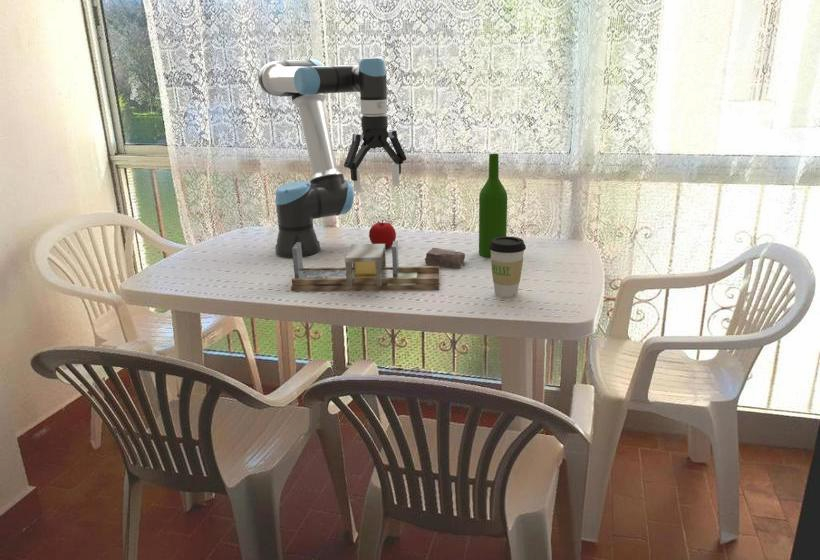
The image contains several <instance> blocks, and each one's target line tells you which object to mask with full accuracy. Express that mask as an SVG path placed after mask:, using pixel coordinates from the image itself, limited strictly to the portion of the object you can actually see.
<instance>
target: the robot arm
mask: <svg viewBox="0 0 820 560" xmlns="http://www.w3.org/2000/svg"><path fill="white" fill-rule="evenodd" d="M387 75H388V73H387V67H386V60H385V59H384V58H383V57H361V58H360V59H359V60H358V64H354V63H353V64H346V65H345V64H343V65H341V64H340V65H324V64H323V63H322V62H321V61H319V60H318V59H310V58H309V59H308V58H307V59H290V60H288V59H287V60H273V61H270V62H268V63H265V65H263V66H262V67H261V69H260V70H259V72H258V84H259V86H260V88H261V89H262V90H263V91H264V92H265V93H266V94H267V95H271V96H275V97H291V100H292V104H294V106H296V107H297V108H298V111H299V117H300V120H301V126H302V130H303V135H304V139H305V144H306V147H307V152H308V158H309V161H310V162H309V163H310V166H311V170H312V176H311V178H310V179H309V181H310V182H309V181H308V180H299V181H298V180H296V181H291V182H287V183H284V184H281V185H279V186H278V187H277V188H276V190H275V205H276V213H277V214H276V215H277V225H278V234H277V239H276V244H275V255H277V256H279V257H282V258H293V254H292V248H293V246H294V245H295V244H296V243H297V242H301V248H302V258H303V257H308V256H312V255H315V254H318V253H319V252H320V251H321V243H320V241H319V240H318V237H317V233H316V231H315V227H314V220H315V219H322V218H327V217H333V216H334V217H335V216H336V217H337V216H340V215H344V214H348V213H349V212H350V211H351V209H352V207H353V205H354V197H355V195H354V192H357V193H361V192H362V189H361V187H362V186H361V170H360V169H358V168H359V166H360V165H361V163H362V161H363V160H364V159H365V157H366V156H367V153H368V152H369V151H370V150H371V149H373V150H374V149H377V148H378V149H383V150H384V151H385V152H386V154H387V155H388V156H389V158H390V159H391V160H392V161H393V162H392V163H391V180H392V182H391V185H393V186H396V187H398V186H399V187H400V174H402V173H401V172H402V168H401V167H402V164H404V162H405V161H406V160H407V156H406V154H405V151H404V148H403V147H402V144H401V143H400V141H399V138H398V132H397V130H394V129H389V130H388V128H389V127H388V126H389V125H388V123H389V121H388V116H387V115H386V114H387V113H388V101H387V100H388V98H387V97H388V95H387V94H388V93H387V91H388V89H387V88H388V87H387V80H388V79H387ZM339 93H341V94H342V93H360V94H359V96H360V114H362V116H361V118H360V119H361V130H362V133H360V134H358V133H353V134H352V139H351V140H352V142H351V145H350V147H349V150H348V152H347V156H346V158H345V160H344V164H343V166H344V168H348V169H349V171H350V180H351V181H353V185H352V183H351V181H350V180H348V179H345V178H344V177H345V176H344V174H343V173H342V171H340V170H339V169H338V166H337V161H336V157H335V153H334V148H333V143H332V139H331V133H330V129H329V125H328V121H327V115H326V112H325V111H326V110H325V107H324V101H325V100H326V98H327V95H326V94H339ZM388 138H389V141H390V142H388V141H387V140H388ZM361 142H362V144H361ZM390 143H391V144H390ZM360 144H361V145H360ZM391 145H392V146H391ZM392 147H393V148H392Z"/></svg>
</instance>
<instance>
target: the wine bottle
mask: <svg viewBox="0 0 820 560" xmlns="http://www.w3.org/2000/svg"><path fill="white" fill-rule="evenodd" d="M499 169H500V168H499V154H498V153H490V154H489V155H488V178H487V180H486V182H485V184H484V185H483V186H482V188H481V189H480V192H479V195H478V196H479V199H478V207H479V208H478V254H479V256H481V257H483V258H487V259H491V251H490V249H489V244H490V243H491V240H492V239H494V238H497V237H506V236H507V229H508V227H507V225H508V224H507V223H508V221H507V220H508V193H507V190H506V189H505V187H504V185H503V183H502V182H501V179H500V177H499V171H500V170H499Z"/></svg>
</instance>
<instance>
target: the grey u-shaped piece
mask: <svg viewBox="0 0 820 560" xmlns="http://www.w3.org/2000/svg"><path fill="white" fill-rule="evenodd" d="M292 254H293V257H292V261H293V263H292V264H293V271H294V273H293V274H294V279H318V278H346V270H303V268H304V262H303V260H304V259H303V257H302V248H301V242H297V243H296V244H295V245H294V246H293V248H292ZM391 258H392V259H391V260H392V261H391V262H392V263H391V264H392V267H393V270H382V278H398V274H399V267H400V266H399V264H400V263H399V242H398V240H395V241H393V245H392V246H391ZM354 263H355V270H352V273H353V278H376V269H375V262H354Z"/></svg>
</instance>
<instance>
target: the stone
mask: <svg viewBox="0 0 820 560" xmlns="http://www.w3.org/2000/svg"><path fill="white" fill-rule="evenodd" d="M465 259H466V253H464V252H462V251H455V250H450V249H445V248H438V247H432V248H431V249H430V250H428V252H426V254H425V258H424V261H425V262H424V263H425V265H426V266H439V268H440V267H445V268H453V269H454V268H455V269H460V268H461V267H462V266H463V264H464V261H465Z"/></svg>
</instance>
